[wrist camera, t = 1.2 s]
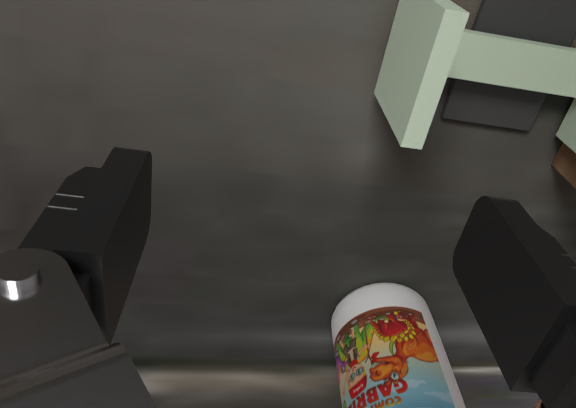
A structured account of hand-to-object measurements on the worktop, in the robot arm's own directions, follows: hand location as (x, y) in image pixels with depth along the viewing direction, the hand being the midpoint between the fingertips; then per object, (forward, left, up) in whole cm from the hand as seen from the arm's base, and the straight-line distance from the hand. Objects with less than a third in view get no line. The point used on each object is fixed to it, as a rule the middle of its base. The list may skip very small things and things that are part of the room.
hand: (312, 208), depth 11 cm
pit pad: (0, +13, -18) cm, 22 cm away
